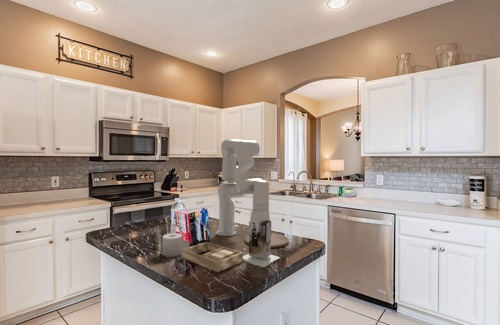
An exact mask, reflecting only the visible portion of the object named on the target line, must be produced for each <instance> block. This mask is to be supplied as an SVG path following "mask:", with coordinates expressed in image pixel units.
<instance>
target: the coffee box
mask: <svg viewBox="0 0 500 325" xmlns="http://www.w3.org/2000/svg"><path fill="white" fill-rule="evenodd" d="M249 229H250V221H249V222H248V230H249ZM254 231H256V229H255V228H254ZM271 233H272V220H270V221H266V222H263V223H261V230H260V232H259V233H258V236H257V238H258V247H253V246H252V238H251V236H250V234H249V233H248V235H249V245H248V254H249V256H254V257H260V258H268V257H269V256H270V255H272V249H271ZM254 234H255V235H256V233H254Z"/></svg>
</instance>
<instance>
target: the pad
mask: <svg viewBox="0 0 500 325" xmlns="http://www.w3.org/2000/svg"><path fill="white" fill-rule="evenodd" d="M278 259H280V260H281V257H280V256H277V255H273V254H271V255H270V256H269V257H268V258H260V257H254V256H249V253H247V254H245V255H244V254H243V261H242V262H245V263H248V264H251V265H254V266H258V267H260V266H261V267H260V268H263V267H264V268H266V267H268V266H270V265H272V264H274V263H275V262H274V261H276V260H278ZM278 261H279V260H278ZM273 262H274V263H273ZM276 262H277V261H276ZM271 263H272V264H271ZM269 264H270V265H269ZM267 265H268V266H267ZM265 266H266V267H265Z"/></svg>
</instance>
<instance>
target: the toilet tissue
mask: <svg viewBox="0 0 500 325" xmlns="http://www.w3.org/2000/svg"><path fill="white" fill-rule="evenodd" d="M161 243H162V244H161V247H162V252H161V253H162V256H163V257H166V256H168V258H169V257H170V258H173V256H174V257H178V256H179V257H180V256H182V249H185V248H188V247H190V244H191V243H190V241H188V240H184V239H183V234H182V233H181V234H180V233H177V232H175V233H174V232H173V233H166V234H164V235H162V242H161Z"/></svg>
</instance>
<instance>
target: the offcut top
mask: <svg viewBox="0 0 500 325" xmlns="http://www.w3.org/2000/svg"><path fill="white" fill-rule="evenodd" d="M233 255H234V252H231V251H228V250H221V251H218V252H216V253H213V254H210V259H212V260H215V261H221V260H223V259H226V258H228V257H231V256H233Z"/></svg>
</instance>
